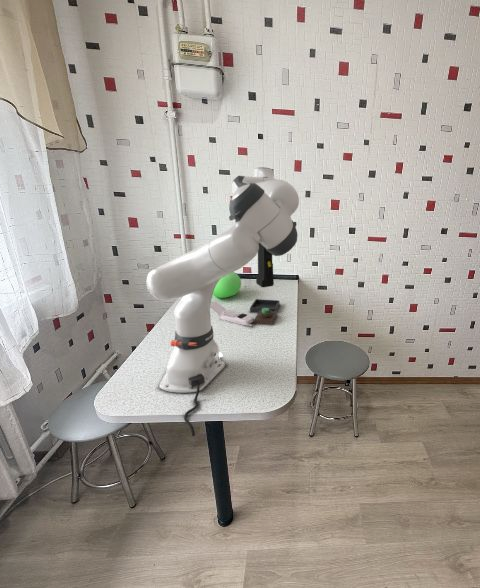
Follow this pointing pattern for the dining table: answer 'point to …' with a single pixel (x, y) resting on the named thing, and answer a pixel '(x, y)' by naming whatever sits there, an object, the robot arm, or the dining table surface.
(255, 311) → the black square tray
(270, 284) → the portable radio
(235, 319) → the pale pink bent bar
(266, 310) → the power button
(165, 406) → the dining table surface
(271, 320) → the switch block
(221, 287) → the green egg-shaped ball
